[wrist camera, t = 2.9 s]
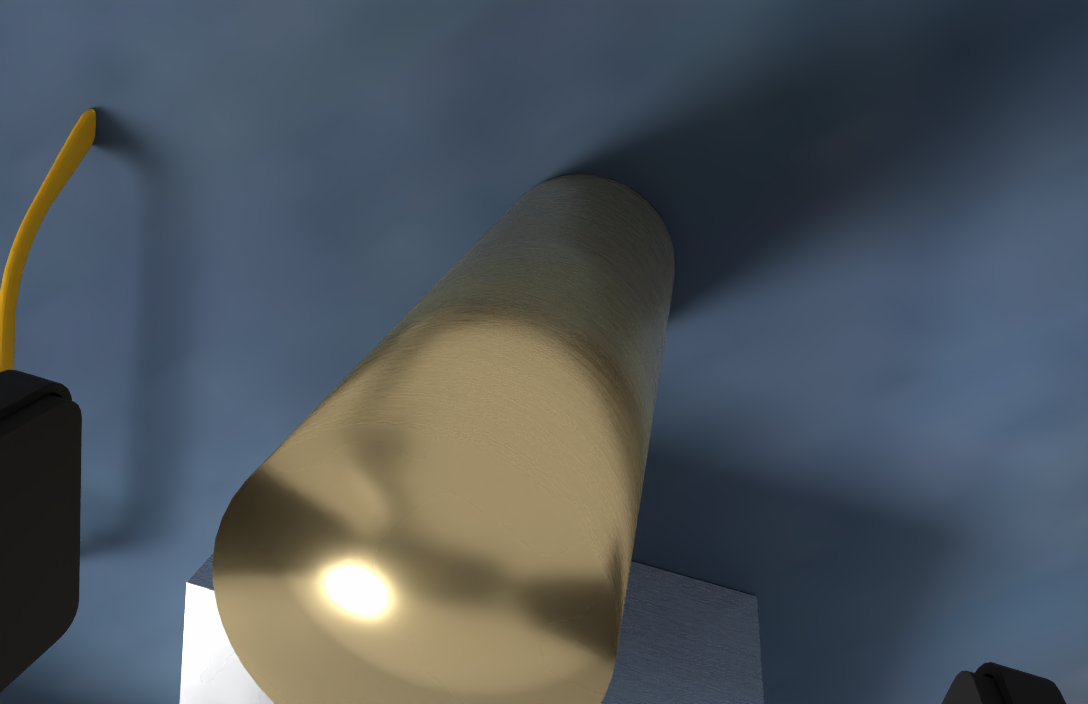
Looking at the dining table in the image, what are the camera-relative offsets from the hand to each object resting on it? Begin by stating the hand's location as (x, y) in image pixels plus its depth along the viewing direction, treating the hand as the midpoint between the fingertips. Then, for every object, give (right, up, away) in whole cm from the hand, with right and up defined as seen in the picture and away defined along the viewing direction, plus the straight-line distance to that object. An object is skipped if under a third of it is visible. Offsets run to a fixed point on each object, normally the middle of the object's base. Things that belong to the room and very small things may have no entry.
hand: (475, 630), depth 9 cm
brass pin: (+2, +5, +10) cm, 11 cm away
